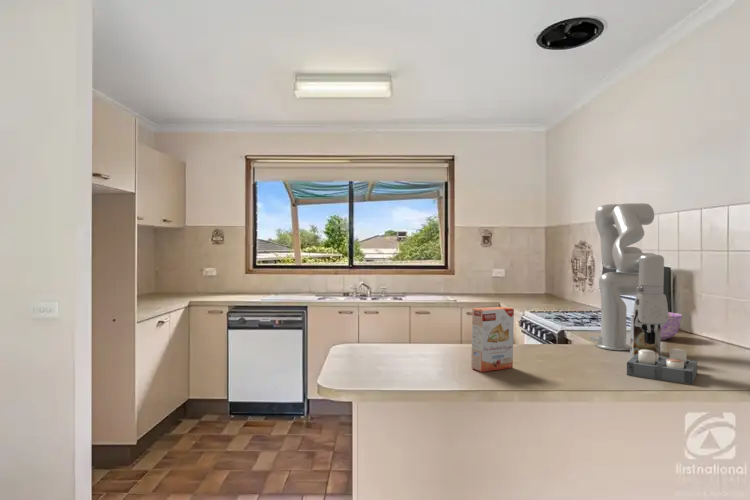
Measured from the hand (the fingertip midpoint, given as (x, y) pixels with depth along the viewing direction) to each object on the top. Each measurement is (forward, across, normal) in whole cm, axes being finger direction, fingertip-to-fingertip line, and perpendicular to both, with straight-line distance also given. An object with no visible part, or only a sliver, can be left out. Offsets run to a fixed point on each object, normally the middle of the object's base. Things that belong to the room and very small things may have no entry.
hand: (649, 343), depth 166 cm
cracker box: (+9, -54, +6) cm, 55 cm away
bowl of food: (+11, +44, +53) cm, 69 cm away
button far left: (+8, 0, -1) cm, 8 cm away
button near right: (+8, 0, -12) cm, 15 cm away
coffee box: (+10, +8, +13) cm, 18 cm away
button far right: (+6, +5, -7) cm, 11 cm away
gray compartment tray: (+9, 0, -7) cm, 11 cm away
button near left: (+6, -6, -7) cm, 11 cm away
